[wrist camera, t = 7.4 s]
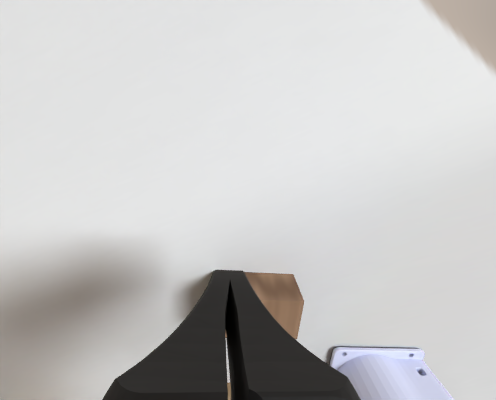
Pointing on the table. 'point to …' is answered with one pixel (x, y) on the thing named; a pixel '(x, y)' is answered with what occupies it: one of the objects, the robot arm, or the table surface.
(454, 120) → the table surface
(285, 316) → the walnut block
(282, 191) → the table surface
